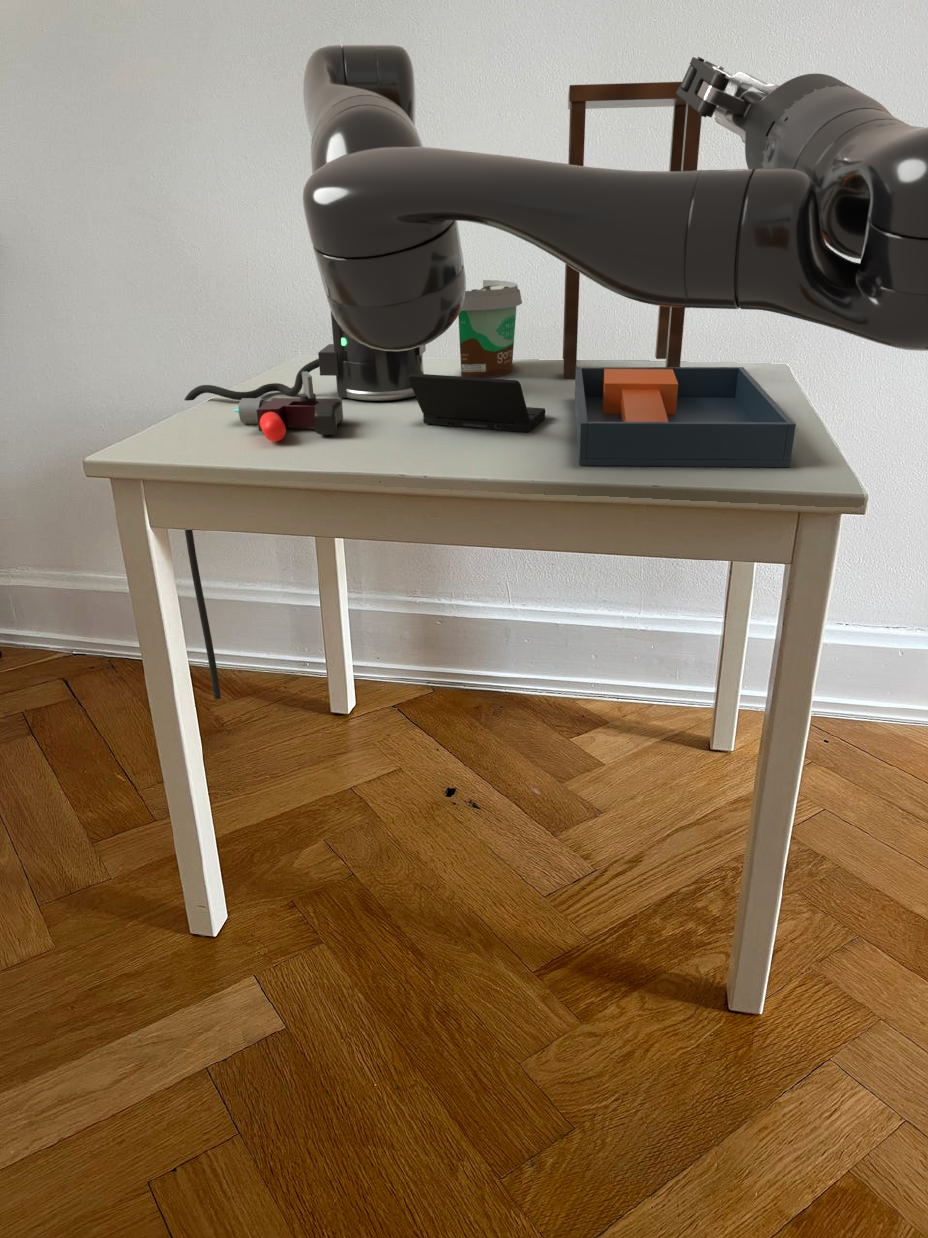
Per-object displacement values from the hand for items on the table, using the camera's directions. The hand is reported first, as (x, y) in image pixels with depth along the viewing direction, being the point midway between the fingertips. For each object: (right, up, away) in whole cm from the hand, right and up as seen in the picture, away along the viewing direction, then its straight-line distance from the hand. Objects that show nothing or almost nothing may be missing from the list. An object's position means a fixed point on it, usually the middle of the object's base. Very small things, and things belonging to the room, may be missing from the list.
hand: (749, 98), depth 70 cm
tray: (-3, -23, +15) cm, 27 cm away
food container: (-18, -10, +41) cm, 46 cm away
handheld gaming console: (-21, -22, +18) cm, 35 cm away
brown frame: (-3, -9, +42) cm, 43 cm away
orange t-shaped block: (-5, -22, +15) cm, 27 cm away
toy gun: (-40, -22, +17) cm, 49 cm away
